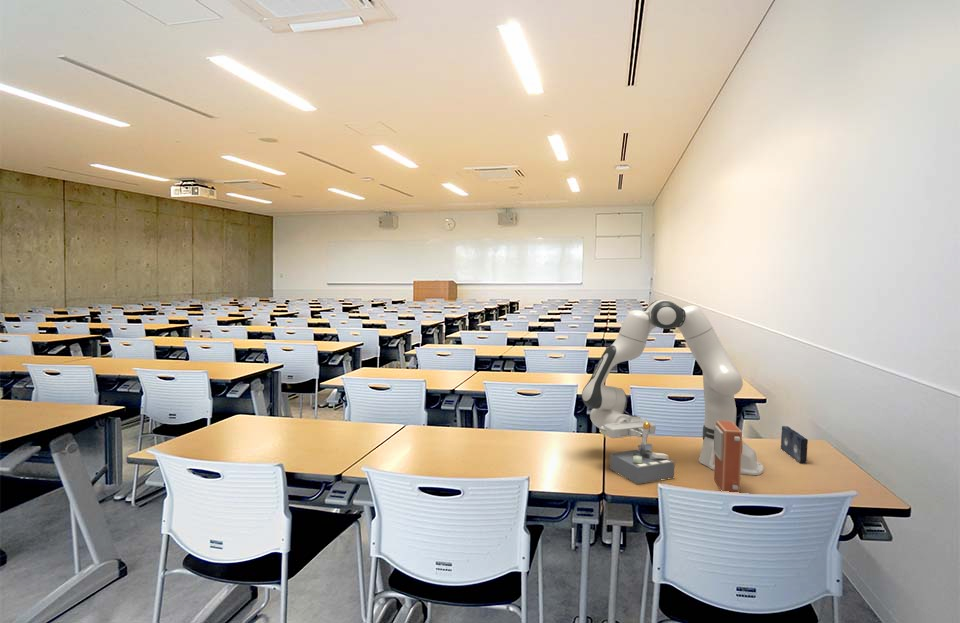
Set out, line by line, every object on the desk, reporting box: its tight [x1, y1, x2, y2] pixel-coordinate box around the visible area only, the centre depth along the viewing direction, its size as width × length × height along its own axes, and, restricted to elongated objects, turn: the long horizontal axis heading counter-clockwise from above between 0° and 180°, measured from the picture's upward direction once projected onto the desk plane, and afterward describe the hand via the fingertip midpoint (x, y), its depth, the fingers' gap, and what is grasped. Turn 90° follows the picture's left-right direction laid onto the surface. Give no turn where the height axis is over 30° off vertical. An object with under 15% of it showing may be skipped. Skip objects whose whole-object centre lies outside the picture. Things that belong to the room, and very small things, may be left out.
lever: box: [639, 422, 651, 455], centre depth 193 cm, size 3×3×13 cm
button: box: [633, 455, 642, 464], centre depth 189 cm, size 3×3×2 cm
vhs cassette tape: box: [780, 425, 809, 465], centre depth 215 cm, size 18×3×10 cm, turn 170°
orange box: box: [713, 421, 743, 492], centre depth 183 cm, size 21×7×15 cm
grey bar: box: [637, 443, 654, 452], centre depth 201 cm, size 1×6×2 cm, turn 112°
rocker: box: [652, 452, 669, 459], centre depth 193 cm, size 3×5×1 cm, turn 112°
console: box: [609, 448, 675, 485], centre depth 195 cm, size 16×16×8 cm
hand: (643, 434), depth 193 cm, fingers closed, pressing on lever
